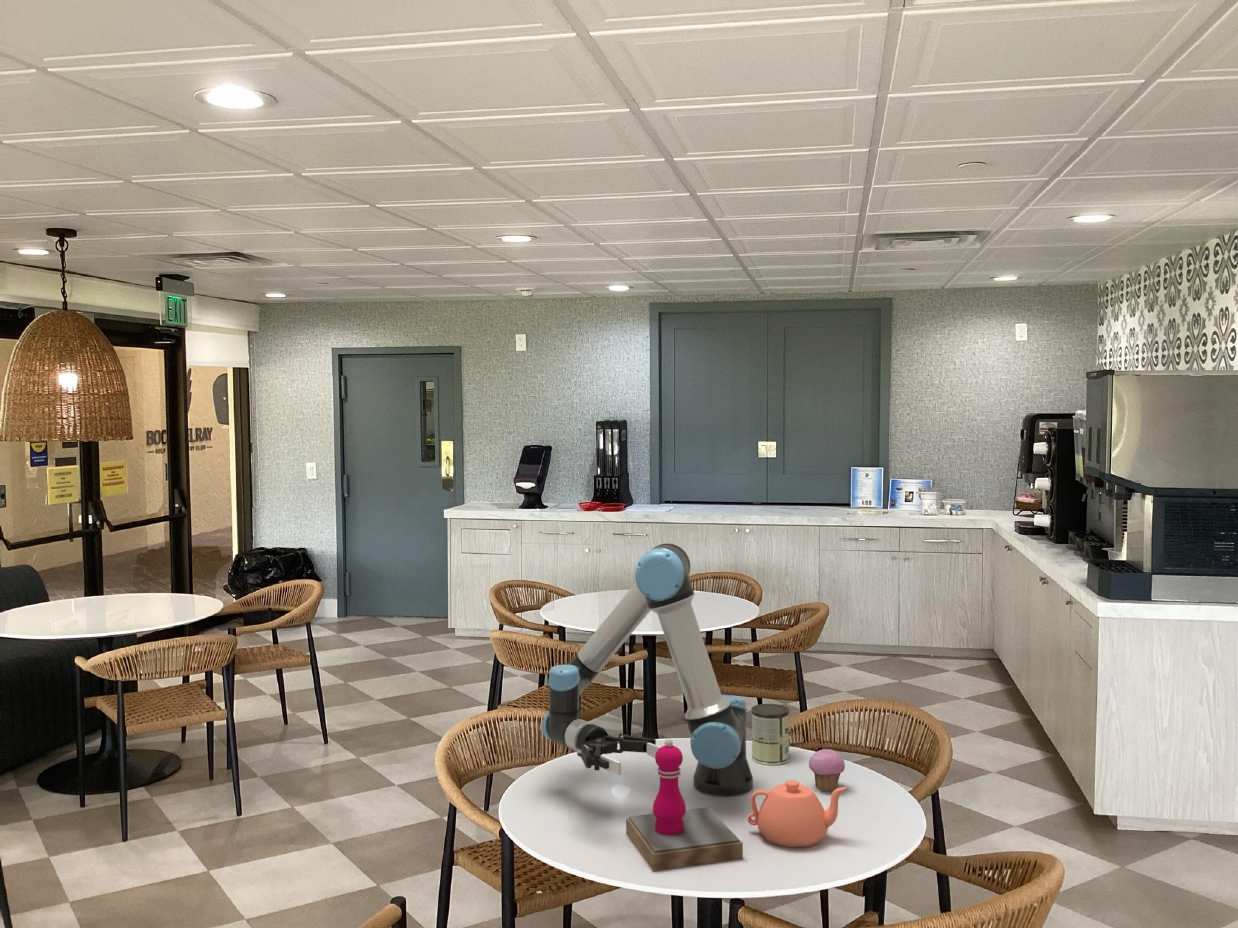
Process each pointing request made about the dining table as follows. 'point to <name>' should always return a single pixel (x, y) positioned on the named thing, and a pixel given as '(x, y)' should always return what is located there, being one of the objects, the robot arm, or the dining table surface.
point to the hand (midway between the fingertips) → (643, 761)
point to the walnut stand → (685, 841)
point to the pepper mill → (669, 791)
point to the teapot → (793, 814)
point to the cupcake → (826, 768)
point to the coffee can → (770, 734)
